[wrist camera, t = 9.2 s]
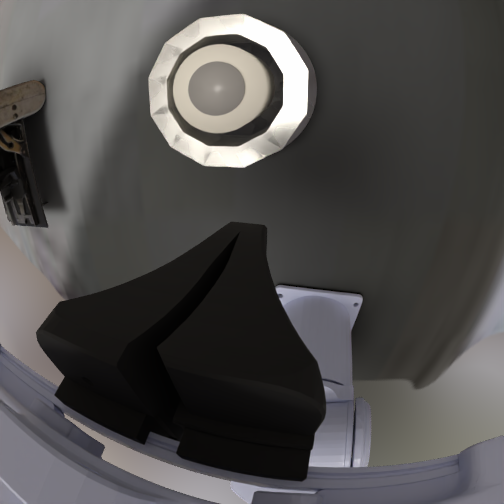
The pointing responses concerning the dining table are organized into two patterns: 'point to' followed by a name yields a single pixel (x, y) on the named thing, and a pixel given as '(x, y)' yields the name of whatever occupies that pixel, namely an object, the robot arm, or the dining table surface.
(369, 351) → the dining table surface
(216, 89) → the beige short cylinder
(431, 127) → the dining table surface
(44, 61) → the dining table surface
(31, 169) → the vintage camera
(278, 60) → the lens barrel
